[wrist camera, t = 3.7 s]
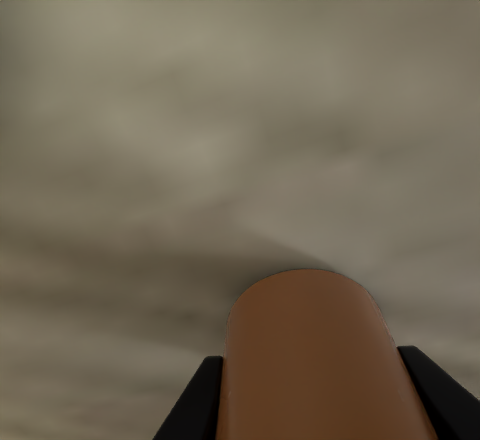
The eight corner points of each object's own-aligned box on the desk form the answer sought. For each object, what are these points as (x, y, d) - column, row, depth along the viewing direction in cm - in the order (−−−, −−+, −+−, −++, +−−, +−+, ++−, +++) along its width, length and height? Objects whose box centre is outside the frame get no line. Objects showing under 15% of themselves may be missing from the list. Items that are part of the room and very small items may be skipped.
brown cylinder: (376, 378, 10) (443, 569, 6) (236, 384, 10) (225, 568, 7) (386, 261, 8) (490, 437, 4) (215, 274, 8) (187, 446, 5)
